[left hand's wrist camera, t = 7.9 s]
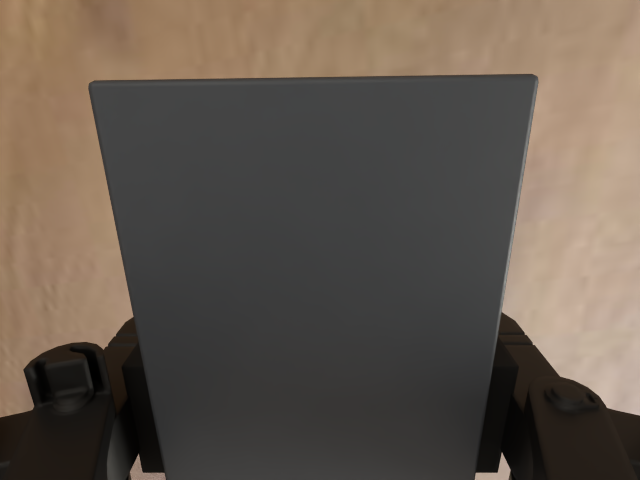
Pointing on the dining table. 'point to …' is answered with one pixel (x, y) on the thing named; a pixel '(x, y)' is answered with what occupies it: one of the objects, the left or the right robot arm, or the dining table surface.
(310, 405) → the post
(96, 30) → the dining table surface
